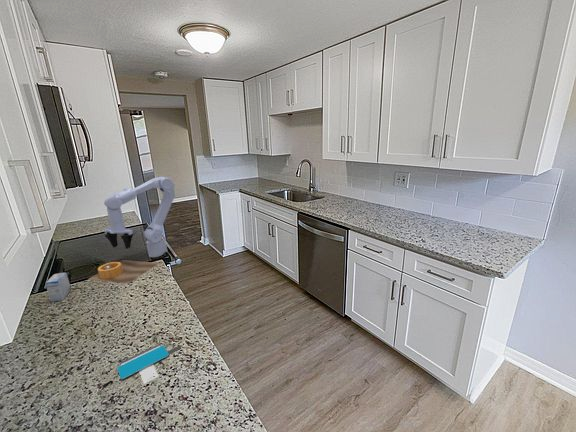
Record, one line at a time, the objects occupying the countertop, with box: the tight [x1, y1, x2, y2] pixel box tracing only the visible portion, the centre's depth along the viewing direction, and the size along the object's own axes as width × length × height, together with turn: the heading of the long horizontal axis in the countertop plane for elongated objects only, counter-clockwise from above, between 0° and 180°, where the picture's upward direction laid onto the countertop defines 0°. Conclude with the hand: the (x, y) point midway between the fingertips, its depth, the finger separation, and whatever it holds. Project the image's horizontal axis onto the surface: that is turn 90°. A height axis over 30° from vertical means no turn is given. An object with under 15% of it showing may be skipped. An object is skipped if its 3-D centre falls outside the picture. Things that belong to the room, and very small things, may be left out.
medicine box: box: [45, 272, 72, 302], centre depth 109 cm, size 8×4×9 cm, turn 21°
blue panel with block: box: [117, 343, 182, 385], centre depth 74 cm, size 20×12×2 cm, turn 131°
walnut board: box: [87, 259, 160, 284], centre depth 127 cm, size 20×22×2 cm
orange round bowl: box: [97, 261, 123, 279], centre depth 123 cm, size 9×9×4 cm
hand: (121, 247), depth 132 cm, fingers open, 7 cm apart
